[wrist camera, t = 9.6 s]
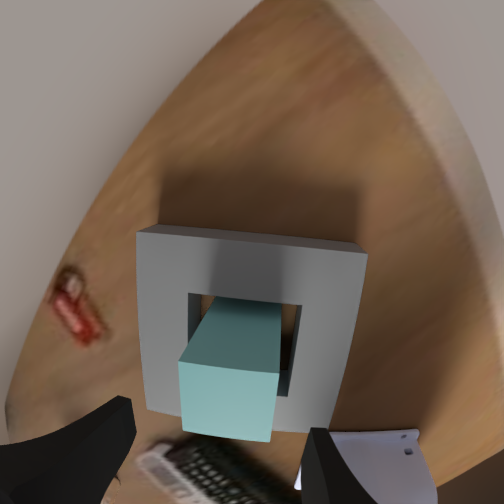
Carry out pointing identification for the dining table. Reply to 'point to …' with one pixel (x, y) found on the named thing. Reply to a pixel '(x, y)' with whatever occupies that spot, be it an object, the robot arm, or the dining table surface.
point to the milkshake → (111, 492)
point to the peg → (232, 370)
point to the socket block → (250, 288)
